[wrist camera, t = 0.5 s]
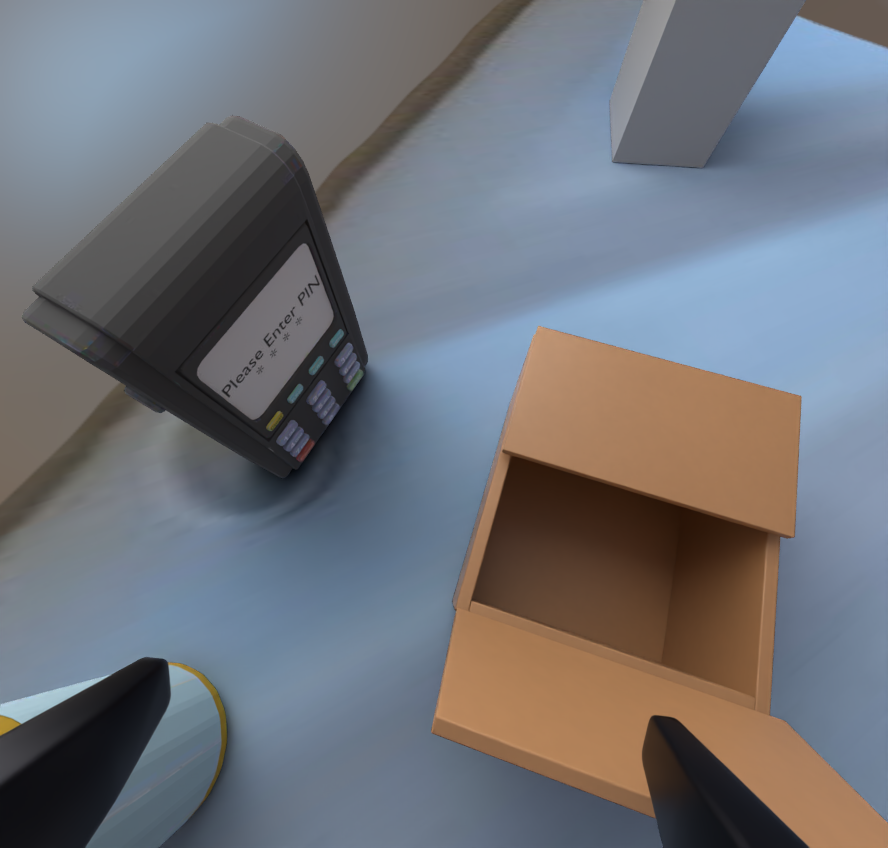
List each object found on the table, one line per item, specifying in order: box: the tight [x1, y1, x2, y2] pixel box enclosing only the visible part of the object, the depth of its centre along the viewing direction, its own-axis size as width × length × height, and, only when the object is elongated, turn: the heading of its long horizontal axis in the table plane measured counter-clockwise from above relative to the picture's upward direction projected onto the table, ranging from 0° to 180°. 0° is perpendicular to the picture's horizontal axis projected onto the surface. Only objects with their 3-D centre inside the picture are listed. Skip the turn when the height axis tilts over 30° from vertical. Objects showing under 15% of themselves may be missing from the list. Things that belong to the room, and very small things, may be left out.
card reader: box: [22, 116, 368, 478], centre depth 20 cm, size 9×4×15 cm, turn 150°
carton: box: [452, 326, 801, 716], centre depth 20 cm, size 12×11×8 cm
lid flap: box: [431, 608, 888, 848], centre depth 12 cm, size 6×11×1 cm
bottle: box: [0, 662, 227, 848], centre depth 14 cm, size 7×7×15 cm
